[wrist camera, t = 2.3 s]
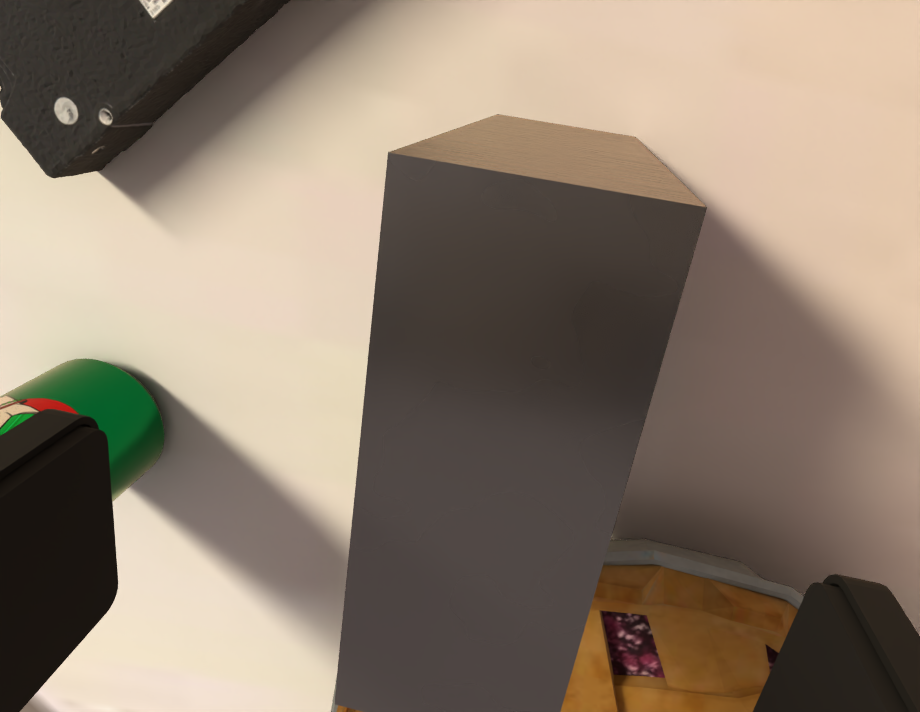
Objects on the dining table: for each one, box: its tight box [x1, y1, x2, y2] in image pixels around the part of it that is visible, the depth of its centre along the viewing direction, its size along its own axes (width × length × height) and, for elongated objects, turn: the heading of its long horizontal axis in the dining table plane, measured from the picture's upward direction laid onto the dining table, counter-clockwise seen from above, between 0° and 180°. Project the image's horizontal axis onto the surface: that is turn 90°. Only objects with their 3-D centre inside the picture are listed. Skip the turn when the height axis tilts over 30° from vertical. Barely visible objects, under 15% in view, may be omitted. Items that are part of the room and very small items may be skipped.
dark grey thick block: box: [334, 114, 707, 712], centre depth 16 cm, size 4×10×12 cm, turn 172°
